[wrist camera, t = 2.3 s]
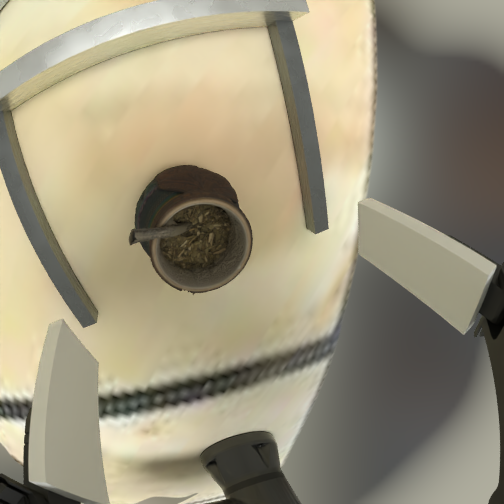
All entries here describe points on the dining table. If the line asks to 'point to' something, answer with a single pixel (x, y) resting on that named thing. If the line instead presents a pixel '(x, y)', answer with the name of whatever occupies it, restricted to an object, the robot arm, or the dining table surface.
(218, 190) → the mate gourd
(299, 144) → the u-shaped bar frame
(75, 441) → the robot arm
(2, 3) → the tea box
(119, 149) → the dining table surface
